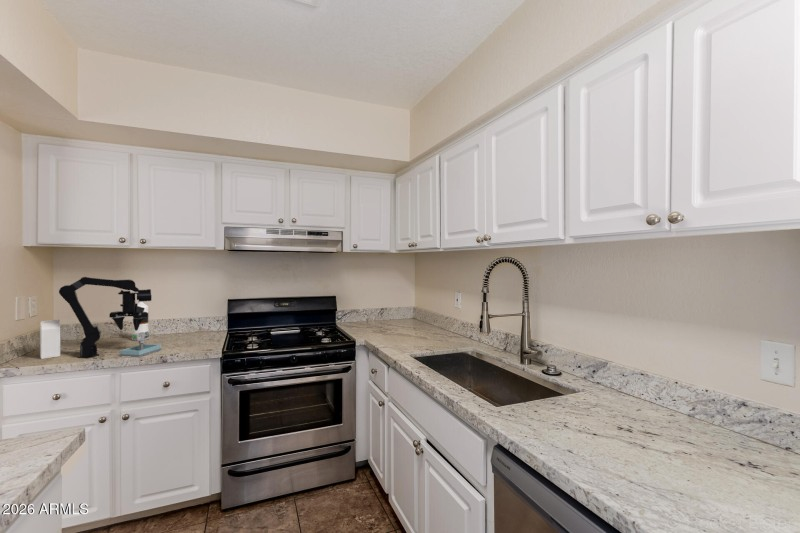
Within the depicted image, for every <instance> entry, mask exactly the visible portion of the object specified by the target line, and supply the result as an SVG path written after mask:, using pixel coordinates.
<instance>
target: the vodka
mask: <svg viewBox="0 0 800 533" xmlns="http://www.w3.org/2000/svg"><path fill="white" fill-rule="evenodd" d="M137 304H138V306H139V307H142V308H144V312H147V313H148V314H149V312H150V311H149V310H150V307H149V305H148V304H146V303H144V301H142V302H139V301H138V303H137ZM133 319H134V317H133V316H132V320H133ZM149 324H150V323H149V316H148V317H146V318H145V319H143V320H142V321H141V323H140V325H139V328H138V330H136V331H135V328H134V323H133V322H132V334H136V333H141V332H147V331H148V332H150V329H149ZM149 339H150V337H149V338H148V339H145V340H144V341H148V340H149ZM131 340H132V341H133V338H132V337H131Z"/></svg>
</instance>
